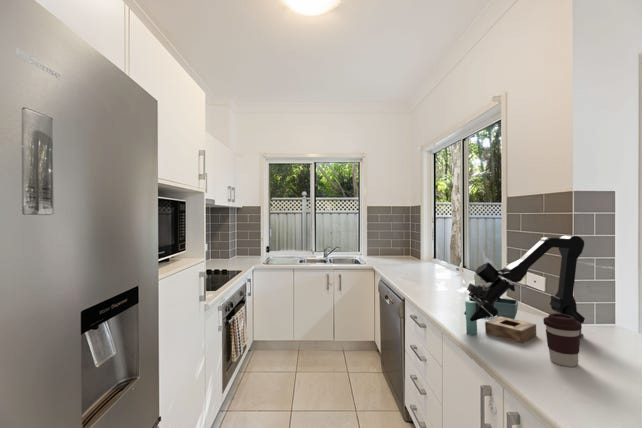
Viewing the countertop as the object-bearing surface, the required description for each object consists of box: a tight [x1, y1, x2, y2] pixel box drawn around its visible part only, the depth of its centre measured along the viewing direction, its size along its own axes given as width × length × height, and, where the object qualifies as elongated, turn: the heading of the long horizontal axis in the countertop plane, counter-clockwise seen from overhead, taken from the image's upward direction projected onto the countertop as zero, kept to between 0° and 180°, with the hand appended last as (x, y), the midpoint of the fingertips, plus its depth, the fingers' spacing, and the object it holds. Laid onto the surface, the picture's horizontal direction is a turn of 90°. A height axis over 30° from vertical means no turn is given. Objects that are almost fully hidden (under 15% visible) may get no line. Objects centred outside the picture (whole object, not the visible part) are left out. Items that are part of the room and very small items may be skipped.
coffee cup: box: [543, 312, 583, 368], centre depth 102 cm, size 10×10×15 cm
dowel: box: [464, 300, 478, 336], centre depth 130 cm, size 4×4×13 cm
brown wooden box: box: [484, 316, 537, 344], centre depth 127 cm, size 14×12×4 cm
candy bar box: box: [473, 273, 495, 307], centre depth 168 cm, size 11×5×16 cm, turn 25°
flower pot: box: [494, 297, 519, 320], centre depth 144 cm, size 9×9×9 cm
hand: (467, 317), depth 130 cm, fingers open, 7 cm apart
